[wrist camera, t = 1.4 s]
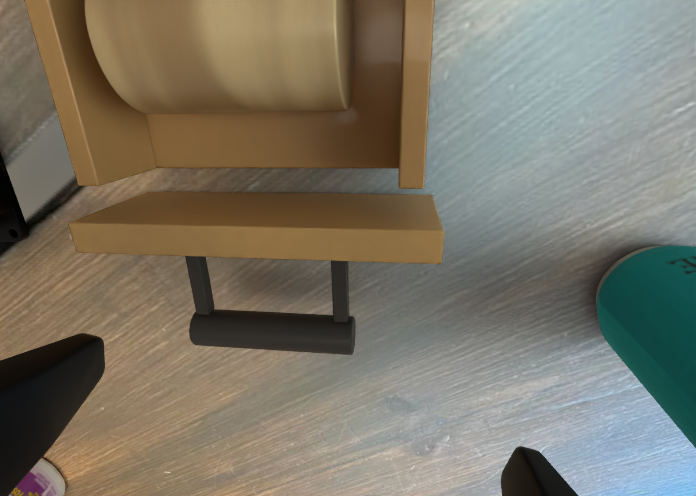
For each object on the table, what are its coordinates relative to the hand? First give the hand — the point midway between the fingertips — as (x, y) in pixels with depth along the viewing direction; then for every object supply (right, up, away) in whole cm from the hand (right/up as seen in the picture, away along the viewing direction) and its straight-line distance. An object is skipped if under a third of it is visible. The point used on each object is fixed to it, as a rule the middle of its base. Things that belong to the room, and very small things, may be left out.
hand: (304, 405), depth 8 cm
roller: (-2, +11, +6) cm, 13 cm away
